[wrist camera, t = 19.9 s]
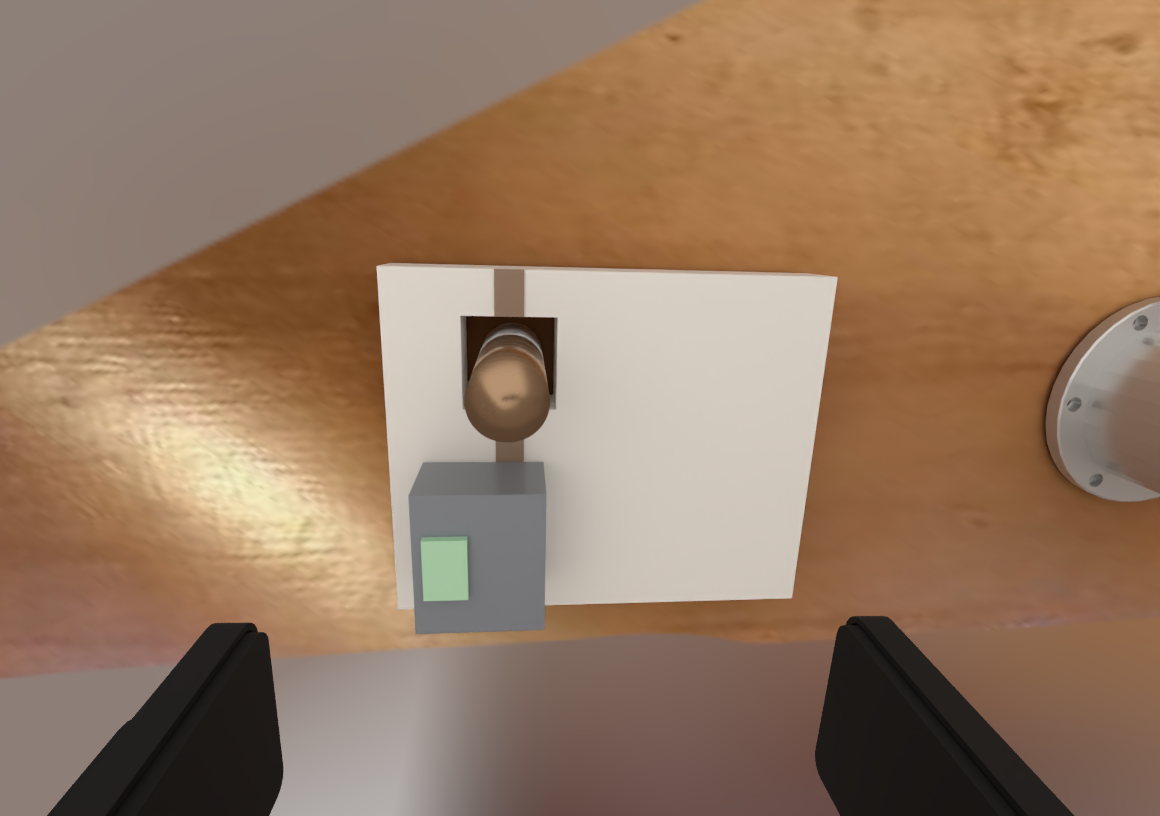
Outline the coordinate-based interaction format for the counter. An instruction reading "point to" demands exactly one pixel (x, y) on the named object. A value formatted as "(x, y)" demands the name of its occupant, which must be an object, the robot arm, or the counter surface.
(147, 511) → the counter surface
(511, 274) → the white flat rectangular board
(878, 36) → the counter surface
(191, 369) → the counter surface
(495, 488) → the block
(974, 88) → the counter surface
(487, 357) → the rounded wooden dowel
